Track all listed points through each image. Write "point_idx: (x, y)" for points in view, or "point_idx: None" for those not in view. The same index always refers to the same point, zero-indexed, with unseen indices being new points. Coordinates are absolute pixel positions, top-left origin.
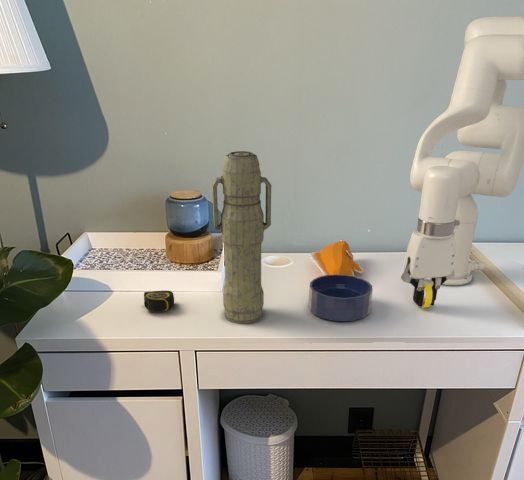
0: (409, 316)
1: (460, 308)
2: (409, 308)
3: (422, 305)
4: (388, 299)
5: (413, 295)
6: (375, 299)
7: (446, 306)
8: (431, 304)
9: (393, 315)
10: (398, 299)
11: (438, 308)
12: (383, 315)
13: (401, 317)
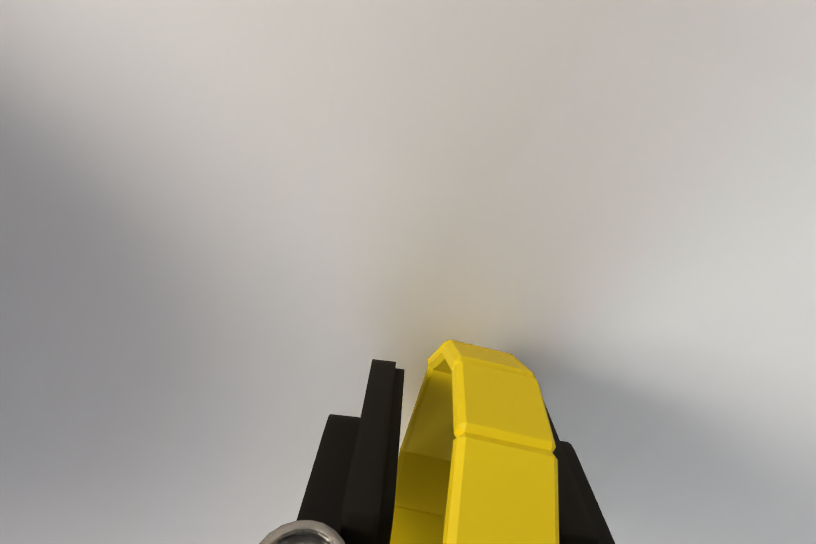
0: (248, 483)
1: (743, 473)
2: (317, 364)
3: (411, 444)
4: (187, 110)
5: (319, 446)
6: (29, 63)
7: (664, 415)
8: None
9: (122, 439)
10: (302, 144)
11: (568, 428)
12: (34, 418)
13: (177, 481)
